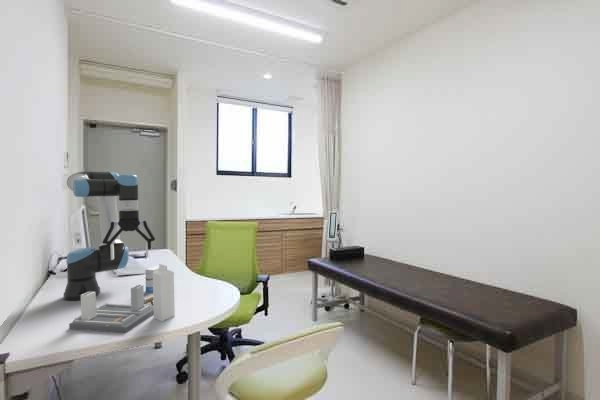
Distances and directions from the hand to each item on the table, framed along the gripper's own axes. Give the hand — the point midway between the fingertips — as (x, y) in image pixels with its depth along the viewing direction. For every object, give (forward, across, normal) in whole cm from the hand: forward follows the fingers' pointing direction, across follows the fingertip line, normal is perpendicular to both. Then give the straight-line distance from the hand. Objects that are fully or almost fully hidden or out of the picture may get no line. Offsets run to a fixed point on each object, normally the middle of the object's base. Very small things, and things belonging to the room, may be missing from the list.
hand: (130, 258), depth 137 cm
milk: (+23, +14, -14) cm, 30 cm away
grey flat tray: (+23, -4, -10) cm, 25 cm away
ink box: (+23, +7, +26) cm, 36 cm away
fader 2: (+21, +4, -8) cm, 23 cm away
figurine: (+23, +6, +4) cm, 24 cm away
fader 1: (+21, -14, -10) cm, 27 cm away
